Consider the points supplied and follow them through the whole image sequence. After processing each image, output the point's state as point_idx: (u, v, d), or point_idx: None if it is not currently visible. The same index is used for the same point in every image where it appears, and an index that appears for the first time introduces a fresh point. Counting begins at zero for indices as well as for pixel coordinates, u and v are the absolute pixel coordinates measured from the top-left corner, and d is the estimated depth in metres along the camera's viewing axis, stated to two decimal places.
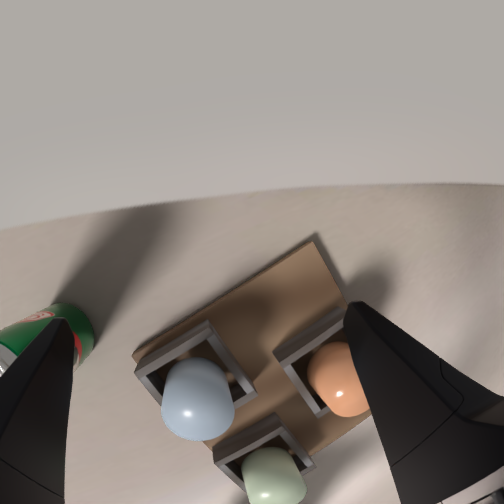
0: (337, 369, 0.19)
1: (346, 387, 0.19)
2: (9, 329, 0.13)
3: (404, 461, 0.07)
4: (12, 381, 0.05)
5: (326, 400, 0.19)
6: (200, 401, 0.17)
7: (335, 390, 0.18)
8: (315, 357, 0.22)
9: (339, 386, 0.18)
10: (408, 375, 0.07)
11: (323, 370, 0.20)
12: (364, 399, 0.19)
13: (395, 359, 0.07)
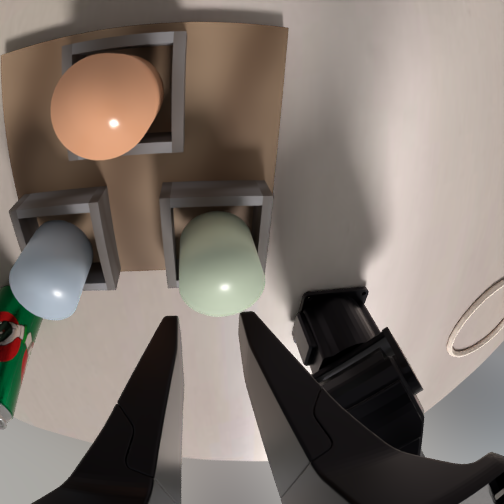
0: (54, 123, 0.10)
1: (83, 123, 0.10)
2: None
3: (287, 496, 0.06)
4: (146, 390, 0.06)
5: None
6: (30, 282, 0.14)
7: (78, 141, 0.11)
8: None
9: (75, 133, 0.11)
10: (274, 404, 0.06)
11: None
12: (127, 103, 0.10)
13: (265, 383, 0.07)
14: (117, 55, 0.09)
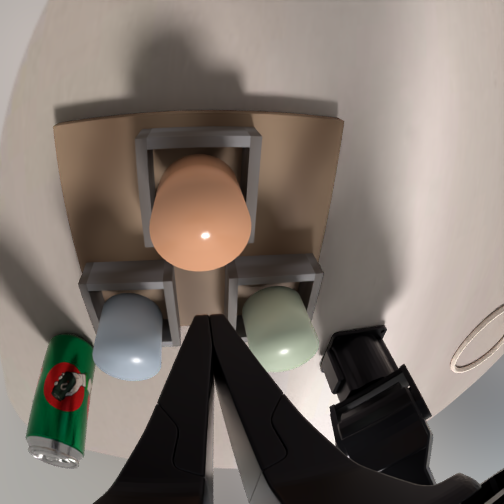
0: (152, 237, 0.14)
1: (183, 242, 0.14)
2: None
3: (252, 502, 0.06)
4: (186, 389, 0.06)
5: None
6: (115, 355, 0.17)
7: (178, 256, 0.14)
8: None
9: (175, 249, 0.14)
10: (234, 409, 0.06)
11: None
12: (226, 228, 0.14)
13: (226, 387, 0.07)
14: (218, 186, 0.13)
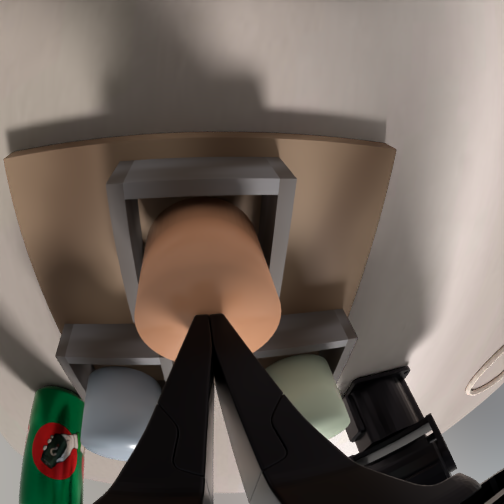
0: (140, 328, 0.09)
1: None
2: None
3: (252, 502, 0.06)
4: (186, 389, 0.06)
5: None
6: (107, 444, 0.12)
7: (178, 351, 0.10)
8: None
9: (174, 344, 0.10)
10: (234, 409, 0.06)
11: None
12: (246, 318, 0.09)
13: (226, 387, 0.07)
14: (235, 267, 0.08)
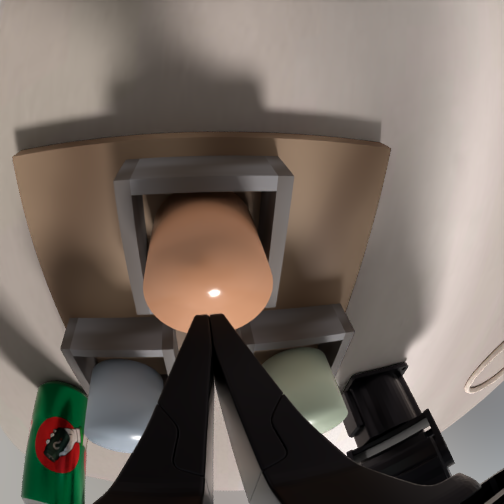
0: (147, 298, 0.11)
1: (187, 305, 0.11)
2: (23, 474, 0.14)
3: (252, 502, 0.06)
4: (186, 389, 0.06)
5: None
6: (110, 435, 0.13)
7: (180, 320, 0.11)
8: None
9: (177, 313, 0.11)
10: (234, 409, 0.06)
11: None
12: (242, 288, 0.11)
13: (226, 387, 0.07)
14: (232, 239, 0.10)
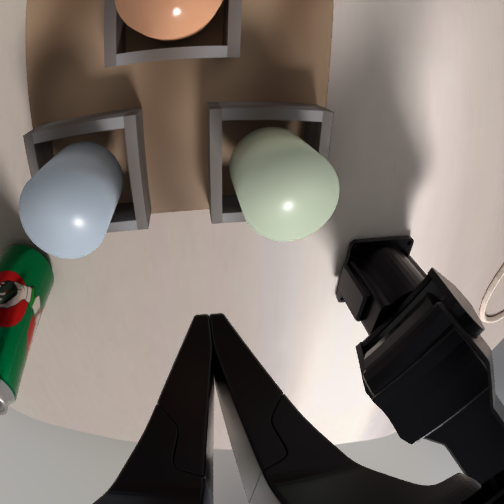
0: (116, 5, 0.09)
1: (150, 2, 0.09)
2: None
3: (252, 502, 0.06)
4: (186, 389, 0.06)
5: (153, 36, 0.10)
6: (46, 205, 0.11)
7: (142, 18, 0.09)
8: None
9: (140, 11, 0.09)
10: (234, 409, 0.06)
11: None
12: None
13: (226, 387, 0.07)
14: None
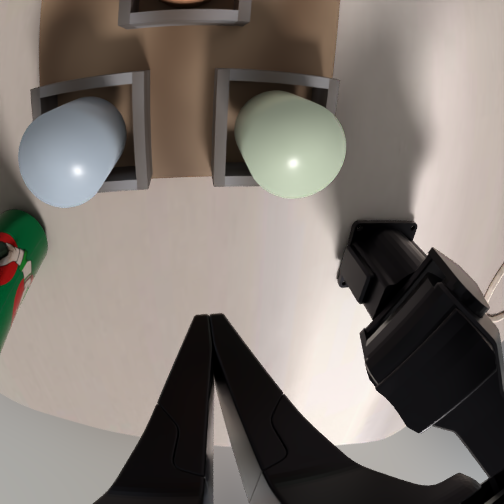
0: None
1: None
2: None
3: (252, 502, 0.06)
4: (186, 389, 0.06)
5: None
6: (46, 148, 0.11)
7: None
8: None
9: None
10: (234, 409, 0.06)
11: None
12: None
13: (226, 387, 0.07)
14: None
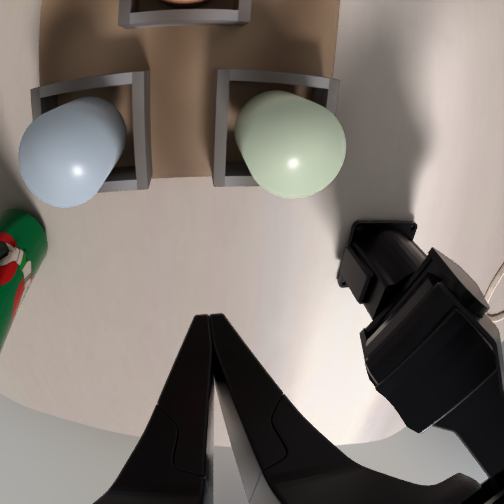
0: None
1: None
2: None
3: (252, 502, 0.06)
4: (186, 389, 0.06)
5: None
6: (46, 148, 0.11)
7: None
8: None
9: None
10: (234, 409, 0.06)
11: None
12: None
13: (226, 387, 0.07)
14: None
